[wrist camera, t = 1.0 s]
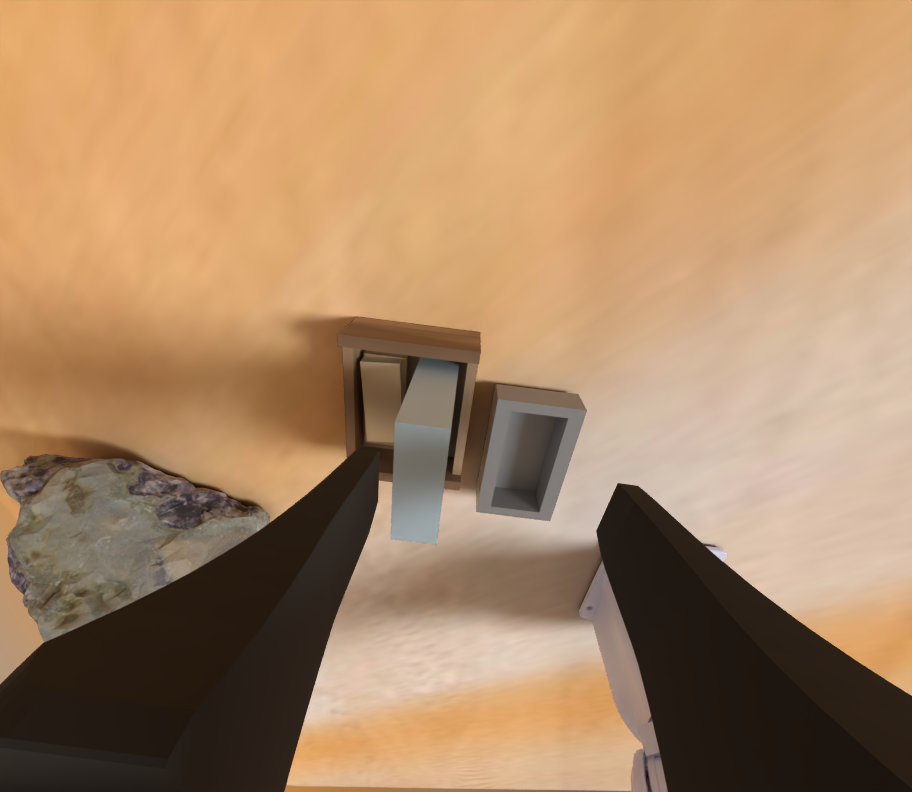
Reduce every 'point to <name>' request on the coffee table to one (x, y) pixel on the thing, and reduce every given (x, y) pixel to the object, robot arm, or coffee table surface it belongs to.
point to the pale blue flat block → (422, 451)
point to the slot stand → (527, 451)
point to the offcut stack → (383, 393)
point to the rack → (409, 380)
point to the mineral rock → (110, 535)
